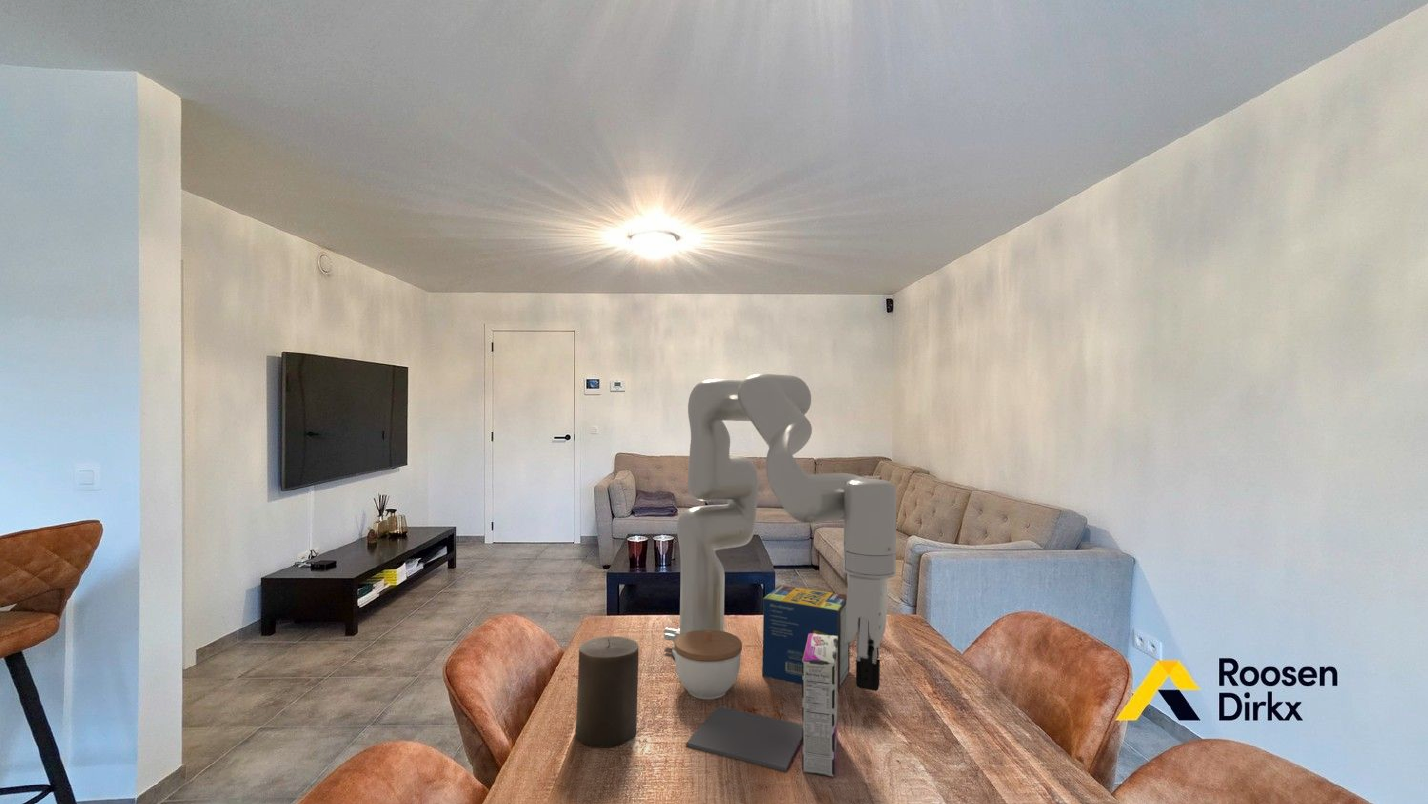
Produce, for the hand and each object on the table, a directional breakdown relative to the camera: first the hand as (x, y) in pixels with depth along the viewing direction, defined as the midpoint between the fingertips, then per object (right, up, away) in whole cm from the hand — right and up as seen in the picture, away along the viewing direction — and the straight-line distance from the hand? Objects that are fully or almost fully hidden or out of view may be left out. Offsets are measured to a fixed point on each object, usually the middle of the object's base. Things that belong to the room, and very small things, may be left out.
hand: (867, 686), depth 88 cm
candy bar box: (-7, -12, +2) cm, 14 cm away
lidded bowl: (-24, -12, +23) cm, 35 cm away
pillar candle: (-40, -11, +8) cm, 42 cm away
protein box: (-4, -13, +31) cm, 33 cm away
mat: (-17, -11, +7) cm, 22 cm away
